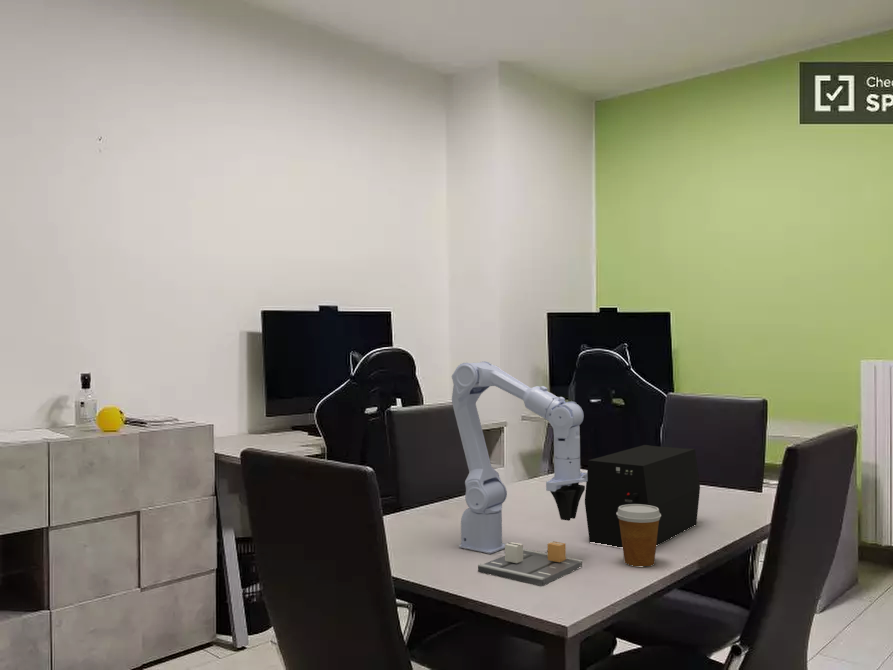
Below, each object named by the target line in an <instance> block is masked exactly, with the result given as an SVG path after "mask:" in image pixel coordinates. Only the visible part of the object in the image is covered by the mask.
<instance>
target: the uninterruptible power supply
mask: <svg viewBox="0 0 893 670" xmlns="http://www.w3.org/2000/svg"><path fill="white" fill-rule="evenodd" d="M697 461H698V459H697V453H696V449H695V448H687V447H686V448H680V447H670V446H656V445H648V444H643V445H639V446H635V447H632V448H628V449H624V450H621V451H618V452H614V453H611V454H610V453H609V454H607V455H603V456H599V457H596V458H592V459H588V462H587V471H586V473H587V475H588V481H587V482H585V483H586V484H585V491H584V506H585V508H584V509H585V515H586V522H587V529H588V530H587V531H588V540H589V543H590V542H595V543H601V544H607V545H612V546H617V547H623V546H622V539H621V532H620V525H619V518H618V516H617V515H616V513H617V512H618V507H619V506H622V505H628V504H643V505H651V506H655V507H657V508H658V509H659V512H660V514H661V517H660V520H659V524H658V533H657V543H656V545H658V544H660V543H662V542H664V541H666V540H668V539H669V540H671V539H672V538H671V537H673V536H675V535H677V534H679V533H681V532H682V533H684V532H685V531H684V530H686V531H688V530H689V529H688V528H690V527H692V526H694V525H696V526H697V523H698V513H699V512H698V511H699V505H700V504H699V501H700V492H701V485H700V478H699V477H700V476H699V470H698V469H699V467H698V462H697ZM694 527H695V526H694ZM692 528H693V527H692ZM687 529H688V530H687ZM690 529H691V528H690ZM683 531H684V532H683ZM682 533H681V534H682ZM679 535H680V534H679ZM677 536H678V535H677ZM675 537H676V536H675ZM670 538H671V539H670ZM673 538H674V537H673ZM669 540H668V541H669ZM666 542H667V541H666ZM664 543H665V542H664ZM662 544H663V543H662ZM660 545H661V544H660ZM658 546H659V545H658Z"/></svg>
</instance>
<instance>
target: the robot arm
mask: <svg viewBox="0 0 893 670" xmlns="http://www.w3.org/2000/svg"><path fill="white" fill-rule="evenodd" d="M451 379H452V384H453V387H452V393H451V404H452V408H453V411H454V412H453V413H454V416H455V420H456V424H457V428H458V431H459V436H460V440H461V444H462V448H463V451H464V455H465V457H464V458H465V460H466V465H467V469H468V472H469V473H468V474H467V477H466V479H465V481H464V485H465V495H464V497H465V503H466V505H467V507H468V508H466V509H464V511H463V512H462V515H461V518H460V540H461V541H460V544H459V546H458V547H459V548H461V549H466V550H470V551H474V552H480V553H485V554H494V553H497V552H499V551H502V550H505V544H506V543H504V542H503V504H504V502H506V499H507V496H508V491H507V488H506V485H505V484H504V483H503V481H502V479H501V477H500V474H499V472H498V471H497V470H496V469H494V468H493V466H492V464H491V459H490V456H489V451H488V448H487V444H486V440H485V434H484V431H483V427H482V424H481V420H480V416H479V411H478V408H477V404H476V403H477V401H479V398H480V397H481V395H482V394H483V393H484V392H486V390H488V389H489V388H490V387H496V388H499V389H500V390H502V391H504V392H506V393H508V394H510V395H512V396H514V397H515V398H518V399H520V400H521V401H523V405H524V407H525V408H526V409H527V410H528V411H531V412H532V413H534V414H536V415H537V416H539V417H541V418H543V419H545V420H546V421H548V422H549V424H550V426H551V428H552V430H553V456H554V457H553V464H554V466H553V467H554V468H553V469H554V471H553V472H554V475H553V477H552V478H551V479H549V480H548V481H546V482H545V487H546V488H545V489H546V492H550V493H551V495H552V497H553V499H554V501H555V504H556V506H557V510H558V514H559V518H560V520H562V521H571V519H573V520H574V519H576V517H577V514H578V513H577V512H578V508H579V504H580V500H581V498H582V495H583V493H585V491H586V485H584V484H580V483H586V482H587V481H588V475H587V472H581V435H580V434H581V433H580V429H581V428H580V425H581V424H583V421H584V416H585V415H584V411H583V409H582V406H580V405H579V404H577V402H576V401H565V400H566V398H565V397H563V396H556V395H555V394H554V393H552V392H551V391H548V387H546V386H545V385H541V386H539V385H536V386H533V387H530V386H529V385H527V384H526V383H524V382H522V381H521V380H519V379H517V378H516V377H514V376H513V375H511V374H510V373H508V372H506V371H505V370H503V369H501V368H500V367H499V366H497V365H495V364H492V363H490V361H480V362H478V361H477V362H467V361H466V362H461V363H460V364H459V365H457V367H456V368H455V370H454V371H453V373H452V375H451Z"/></svg>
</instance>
